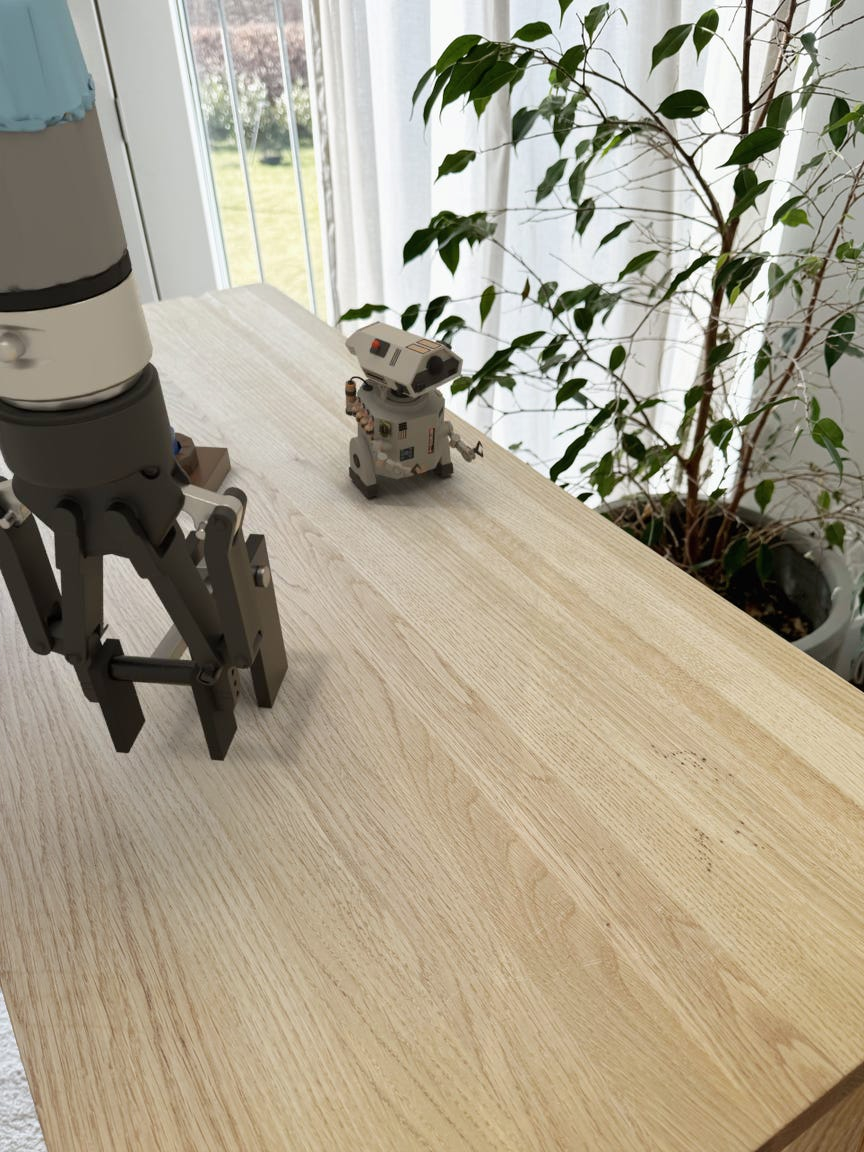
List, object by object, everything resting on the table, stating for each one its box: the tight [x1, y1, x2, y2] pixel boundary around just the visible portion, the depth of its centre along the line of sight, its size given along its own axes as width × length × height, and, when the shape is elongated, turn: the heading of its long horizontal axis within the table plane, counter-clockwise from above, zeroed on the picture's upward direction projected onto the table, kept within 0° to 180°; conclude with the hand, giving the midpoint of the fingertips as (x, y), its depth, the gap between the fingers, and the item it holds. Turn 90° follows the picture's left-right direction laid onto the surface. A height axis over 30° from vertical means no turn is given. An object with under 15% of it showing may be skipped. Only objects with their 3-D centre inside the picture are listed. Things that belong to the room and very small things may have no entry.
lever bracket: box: [185, 529, 289, 709], centre depth 68 cm, size 10×8×13 cm
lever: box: [108, 556, 216, 687], centre depth 61 cm, size 13×5×2 cm, turn 173°
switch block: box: [174, 431, 232, 493], centre depth 93 cm, size 10×8×4 cm
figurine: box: [344, 320, 484, 499], centre depth 89 cm, size 9×12×15 cm
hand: (177, 739), depth 60 cm, fingers closed on lever, 5 cm apart
